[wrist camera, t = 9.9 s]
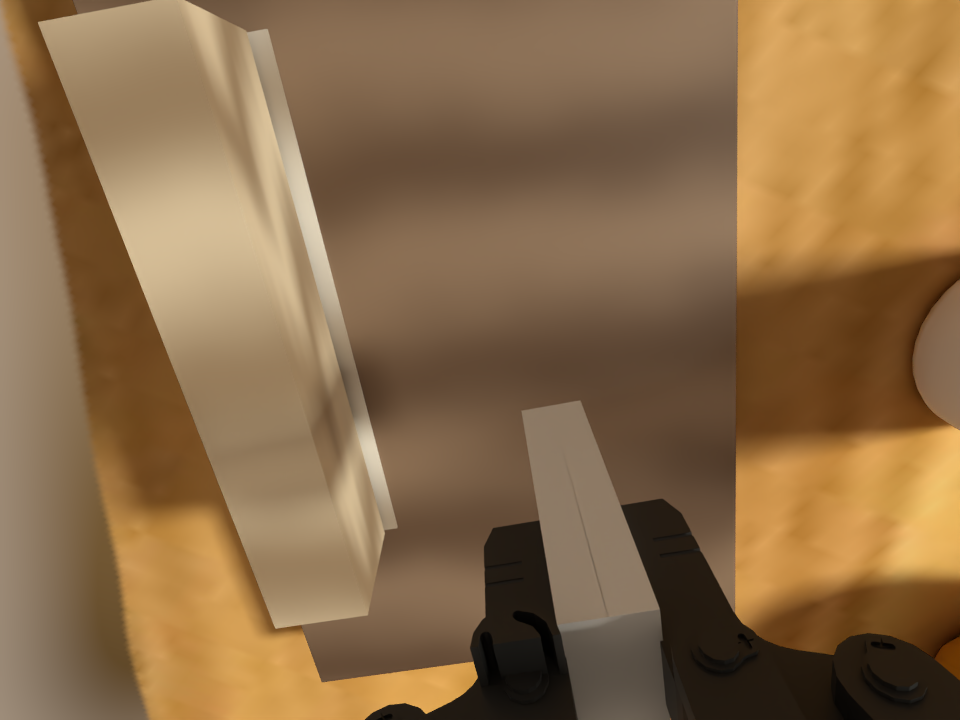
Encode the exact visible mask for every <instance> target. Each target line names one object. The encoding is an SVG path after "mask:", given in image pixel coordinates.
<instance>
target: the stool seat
mask: <svg viewBox="0 0 960 720" xmlns="http://www.w3.org/2000/svg"><path fill="white" fill-rule="evenodd" d="M146 1H151V0H73V2H74V5H75V8H76V11H77V13H78V14H83V13H88V12H94V11H99V10H104V9H109V8H115V7H120V6H125V5H130V4H136V3H141V2H146ZM185 1H187V2H189V3H191V4H194V5H196V6H198V7H200V8H202V9H204V10H206V11H208V12H210V13H212V14H214V15H216V16H218V17H220V18H222V19H224V20H226V21H228V22H230V23H232V24H234V25H236V26H238V27H240V28H242V29H244V30H246V31H247V35H248V39H249V42H250V46H251V49H252V53H253V57H254V60H255V64H256V68H257V71H258V75H259V78H260V82H261V86H262V89H263V93H264V97H265V100H266V104H267V108H268V111H269V115H270V118H271V122H272V126H273V129H274V133H275V137H276V140H277V144H278V147H279V151H280V155H281V158H282V162H283V166H284V169H285V173H286V176H287V180H288V184H289V187H290V191H291V195H292V198H293V202H294V205H295V209H296V213H297V216H298V220H299V224H300V227H301V231H302V234H303V238H304V242H305V245H306V249H307V253H308V256H309V260H310V263H311V267H312V271H313V274H314V278H315V282H316V285H317V289H318V292H319V296H320V300H321V303H322V307H323V311H324V314H325V318H326V321H327V325H328V329H329V332H330V336H331V340H332V343H333V347H334V350H335V354H336V358H337V361H338V365H339V369H340V372H341V376H342V379H343V383H344V387H345V390H346V394H347V398H348V401H349V405H350V408H351V412H352V416H353V419H354V423H355V427H356V430H357V434H358V438H359V441H360V445H361V448H362V452H363V456H364V459H365V463H366V467H367V470H368V474H369V477H370V481H371V485H372V488H373V492H374V496H375V499H376V503H377V506H378V510H379V514H380V517H381V521H382V525H383V528H384V532H385V535H384V540H383V545H382V549H381V554H380V559H379V564H378V569H377V573H376V578H375V583H374V588H373V592H372V597H371V602H370V607H369V611H368V615H367V616H360V617H353V618H346V619H339V620H332V621H325V622H318V623H311V624H304V625H301V626H302V629H303V632H304V635H305V637H306V640H307V643H308V646H309V648H310V651H311V654H312V657H313V659H314V662H315V665H316V667H317V670H318V673H319V676H320V678H321V681H322V682H327V681H335V680H342V679H349V678H357V677H364V676H371V675H378V674H386V673H393V672H400V671H408V670H415V669H422V668H429V667H437V666H444V665H451V664H459V663H466V662H473V658H472V654H471V650H470V645H471V640H472V636H473V632H474V631H475V629H476V628H477V627H478V625H479V624H480V622H481V621H482V619H484V618H485V577H484V571H485V568H484V545H485V543H486V541H487V539H488V537H489V535H490V533H491V531H492V529H493V528H496V527H502V526H508V525H514V524H520V523H526V522H532V521H538V520H539V514H538V508H537V502H536V496H535V490H534V484H533V478H532V472H531V466H530V459H529V453H528V447H527V441H526V435H525V429H524V423H523V417H522V411H523V410H529V409H534V408H540V407H546V406H551V405H557V404H563V403H568V402H574V401H581V403H582V406H583V409H584V411H585V414H586V417H587V419H588V422H589V424H590V427H591V430H592V432H593V435H594V438H595V440H596V443H597V445H598V448H599V451H600V453H601V456H602V459H603V461H604V464H605V466H606V469H607V472H608V474H609V477H610V480H611V482H612V485H613V487H614V490H615V493H616V495H617V498H618V501H619V503H620V505H626V504H632V503H638V502H644V501H650V500H656V499H662V498H663V499H664V500H665V501H667V502H668V503H669V504H670V505H672V506H673V507H674V508H676V509H677V510H678V511H679V512H681V513H682V515H683V517H684V519H685V521H686V523H687V525H688V526H689V528H690V530H691V532H692V536H694V538H695V540H696V542H697V543H698V545H699V547H700V551H701V552H702V553H703V555H704V557H705V559H706V560H707V562H708V564H709V566H710V568H711V570H712V572H713V574H714V576H715V578H716V579H717V581H718V583H719V585H720V587H721V589H722V591H723V593H724V595H725V596H726V598H727V600H728V602H729V604H730V606H731V608H732V610H733V612H734V613H735V497H736V279H737V62H738V0H185Z"/></svg>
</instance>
